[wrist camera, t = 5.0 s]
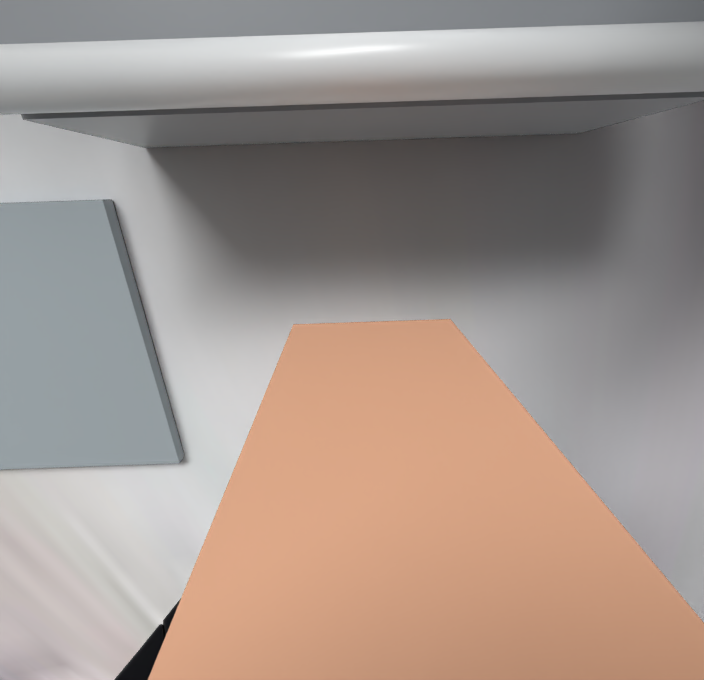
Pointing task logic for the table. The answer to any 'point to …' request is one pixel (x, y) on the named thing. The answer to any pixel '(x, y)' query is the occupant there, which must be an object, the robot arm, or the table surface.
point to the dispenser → (345, 67)
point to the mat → (76, 344)
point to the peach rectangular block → (416, 534)
